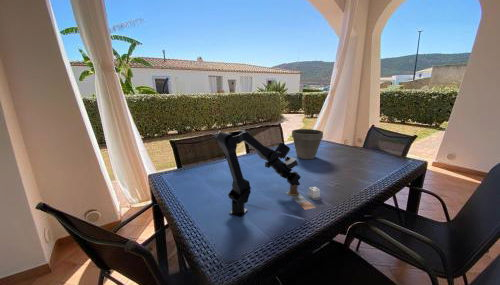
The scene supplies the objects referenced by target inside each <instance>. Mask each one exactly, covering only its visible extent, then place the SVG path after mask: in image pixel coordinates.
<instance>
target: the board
mask: <svg viewBox="0 0 500 285" xmlns="http://www.w3.org/2000/svg"><path fill="white" fill-rule="evenodd" d="M285 193H286V194H287V195H288V196H290V198H292V200H294V201H295V202H296V203H297V204H298V205H299V206H300V207H301V208H303V209H304V210H305V211H306V210H311V209H316V206H315V205H314V204H312V203H311V202H310V201H308V199H306V198H305V197H304V196H303V195H302V194H300V193H299V195H298V196H291V195H289V194H288V191H285Z"/></svg>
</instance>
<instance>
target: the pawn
mask: <svg viewBox="0 0 500 285" xmlns="http://www.w3.org/2000/svg"><path fill="white" fill-rule="evenodd" d="M293 172H294V171H291V173H293ZM295 172H296V173H297V174H299V173H298V172H297V171H295ZM298 187H299V186H298V185H294V186H292V185H291V184H289V190H288V191H287V192H288V194H289V195H288V194H287V195H288V196H290V195H291V196H295V197H297V196H298V195H299V194H300V192H299V191H298V189H299V188H298ZM291 196H290V197H291Z"/></svg>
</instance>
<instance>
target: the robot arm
mask: <svg viewBox="0 0 500 285" xmlns="http://www.w3.org/2000/svg"><path fill="white" fill-rule="evenodd" d="M216 141H217V144H218V146H219V148H220V149H221V150H222V151H223V153H224V155H225V157H226V158H225V159H226V162H227V165H228V168H229V170H230V175H231V177H232V185H231V186H232V189H231V190H230V191H229V193H228V195H227V196H228V199H230V200H231V210H230V211H229V212H228V214H229V215H232V216H237V217H239V218H241V217H243V216H244V215H245V213H247V211H248V208H245V204H247V203H248V201H249V199H250V198H249V197H250V195H251V192H252V191H251V190H252V187H251V185H250V181H249V180H247V179H245V178H244V176H243V173H242V170H241V165H240V161H239V159H238V158H239V157H238V155H237V148H238V145H239V144H241V143H243V142H244V143H245V144H247V145H248V146H249V147H250V148H252V149H253V150H254V151H255V152H256V154H257V155H258V156H259V158H260V159H262V160H264V161H265V162H264V163H265V164H264V167H265V168H267V169H269V168H272V169H273V170H274V172H275V173H277V175H279V176H280V177H281V178H283V179H285V180H286V182H287V183H288V184H289V185H290V184H291V185H292V186H294V185H298V187H299V186H300V185H301V183H300V181H299V180H301V175H300V174H299V173H298V172H297V171H293V169H294V168H295V167H297V166H298V165H299V163H298V161H297V159H296V158H294V157H293V156H291V157H290V156H288V153H289V152H290V151H291V147H289V146H288V145H287V144H284V142H279V143H278V145H277V147H276V148H275V149H272V148H269V147H267V146H266V145H265V146H264V145H263V144H262V143H261V142H260V141H259V140H257V139H256V138H255V137H254V136H253V135H251V134H250V133H249V132H248V131H247V130H243V129H239V130H235V131H228V132H226V131H221V132H219V133H218V135H217V137H216ZM282 159H284V161H282ZM291 172H293V173H291ZM296 172H297V173H298V174H297V173H296Z"/></svg>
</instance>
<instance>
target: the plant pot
mask: <svg viewBox="0 0 500 285" xmlns="http://www.w3.org/2000/svg"><path fill="white" fill-rule="evenodd" d="M291 137H292V138H293V139H292V140H293V144H294V149H295V153H296V157H297V158H299V159H302V160H313V159H315V158H316V156H317V153H318V150H319V147H320V144H321V142H322V139H323V138H324V131H322V130H318V129H310V128H296V129H294V130H292V131H291Z"/></svg>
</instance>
